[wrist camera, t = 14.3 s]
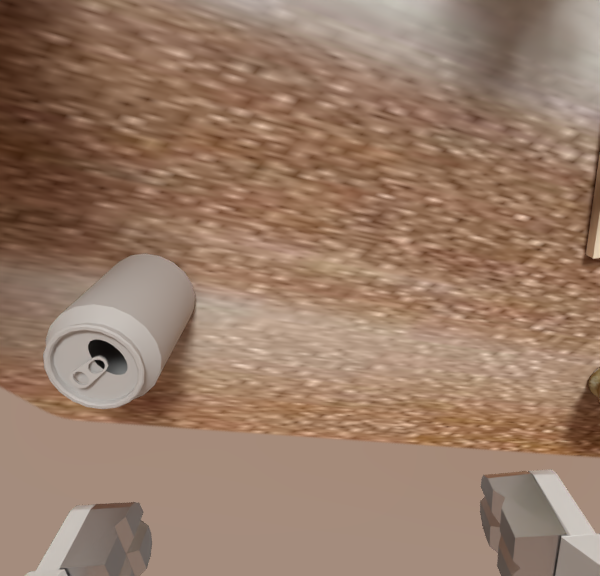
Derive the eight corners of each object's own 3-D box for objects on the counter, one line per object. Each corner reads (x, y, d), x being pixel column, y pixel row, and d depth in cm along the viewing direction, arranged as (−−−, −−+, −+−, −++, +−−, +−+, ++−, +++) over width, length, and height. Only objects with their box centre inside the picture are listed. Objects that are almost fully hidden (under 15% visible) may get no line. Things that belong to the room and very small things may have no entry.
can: (215, 300, 39) (178, 384, 28) (152, 343, 40) (94, 437, 30) (156, 232, 36) (89, 294, 25) (92, 281, 38) (4, 358, 27)
